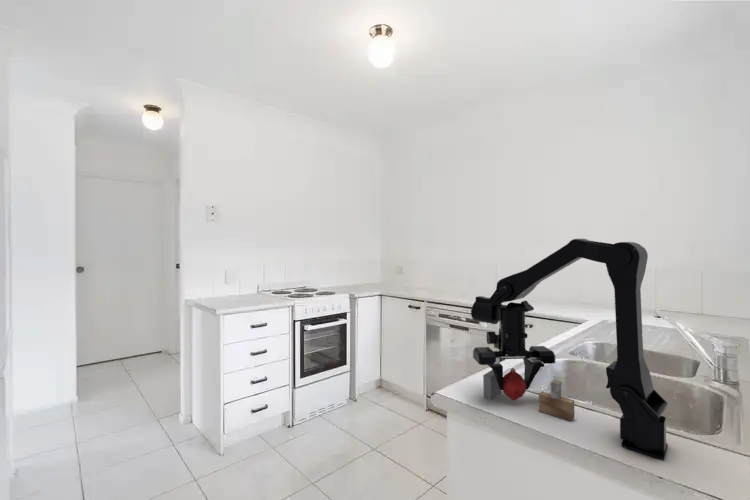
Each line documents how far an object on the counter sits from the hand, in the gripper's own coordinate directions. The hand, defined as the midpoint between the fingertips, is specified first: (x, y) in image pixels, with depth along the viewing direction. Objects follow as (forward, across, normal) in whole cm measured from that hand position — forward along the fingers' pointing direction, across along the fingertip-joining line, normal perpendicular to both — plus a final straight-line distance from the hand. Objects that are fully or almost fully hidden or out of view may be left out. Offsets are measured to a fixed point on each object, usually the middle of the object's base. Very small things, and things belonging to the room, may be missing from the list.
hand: (513, 389), depth 88 cm
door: (+3, -7, +7) cm, 10 cm away
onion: (+3, 0, 0) cm, 3 cm away
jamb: (+3, +4, -4) cm, 6 cm away
